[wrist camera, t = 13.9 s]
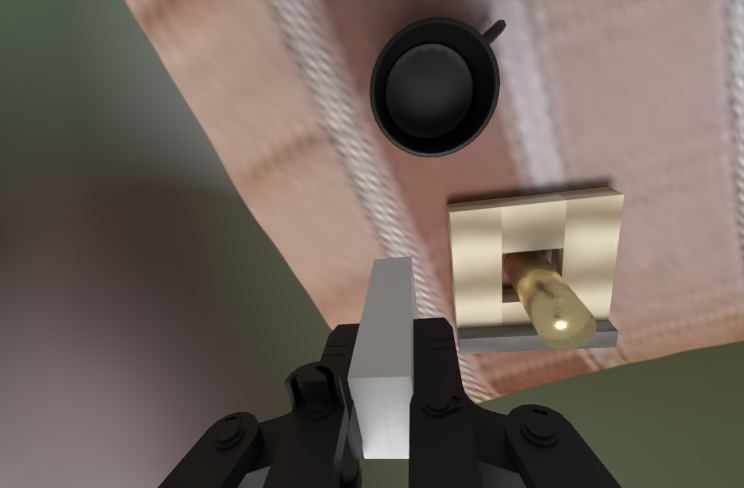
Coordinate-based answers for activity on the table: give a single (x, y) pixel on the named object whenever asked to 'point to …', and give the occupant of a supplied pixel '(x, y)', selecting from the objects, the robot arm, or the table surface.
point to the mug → (436, 86)
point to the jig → (530, 233)
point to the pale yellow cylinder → (549, 301)
